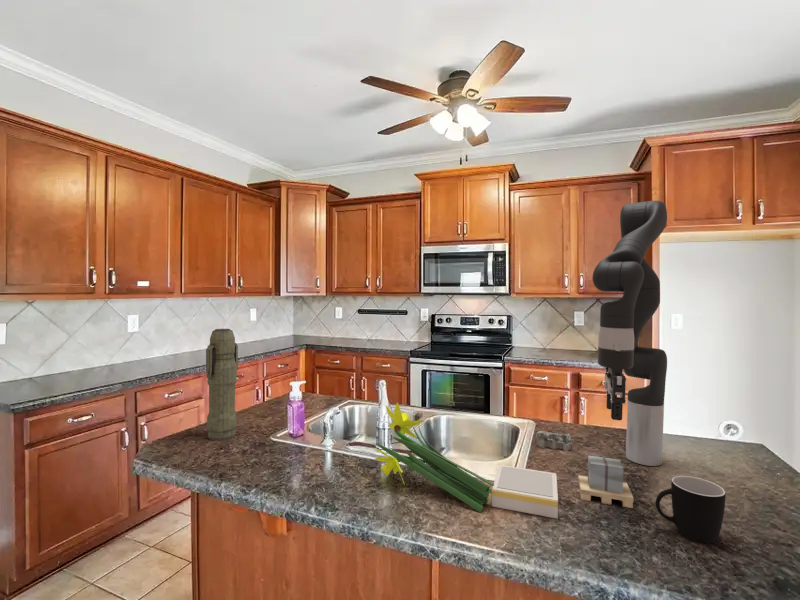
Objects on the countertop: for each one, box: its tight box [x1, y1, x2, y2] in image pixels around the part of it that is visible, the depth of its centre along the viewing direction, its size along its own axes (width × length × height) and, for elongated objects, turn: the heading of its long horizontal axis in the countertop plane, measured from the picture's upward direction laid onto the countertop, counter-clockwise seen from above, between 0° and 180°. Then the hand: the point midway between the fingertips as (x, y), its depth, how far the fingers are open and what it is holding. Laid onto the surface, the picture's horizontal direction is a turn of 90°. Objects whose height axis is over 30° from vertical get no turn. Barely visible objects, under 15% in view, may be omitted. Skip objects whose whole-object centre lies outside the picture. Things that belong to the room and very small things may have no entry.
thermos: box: [205, 328, 239, 441], centre depth 135 cm, size 9×12×35 cm
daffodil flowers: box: [373, 402, 494, 514], centre depth 102 cm, size 17×15×35 cm
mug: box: [655, 475, 727, 544], centre depth 84 cm, size 12×9×10 cm
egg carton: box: [535, 430, 572, 451], centre depth 132 cm, size 11×8×4 cm
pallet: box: [577, 455, 634, 509], centre depth 99 cm, size 8×11×8 cm
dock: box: [491, 464, 559, 519], centre depth 98 cm, size 14×14×4 cm
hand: (613, 414), depth 97 cm, fingers open, 8 cm apart
